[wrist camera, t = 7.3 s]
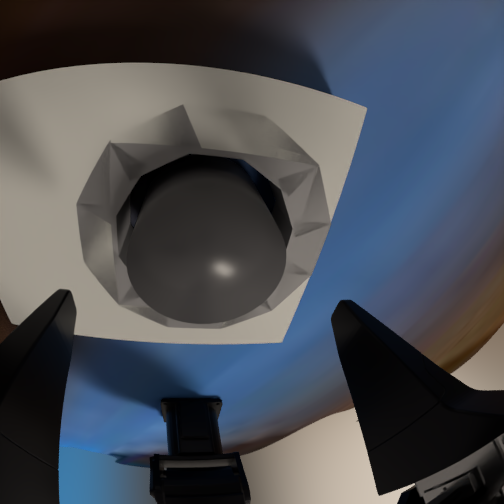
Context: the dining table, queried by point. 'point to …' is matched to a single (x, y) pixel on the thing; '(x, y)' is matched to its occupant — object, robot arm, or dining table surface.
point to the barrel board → (143, 161)
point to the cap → (204, 243)
